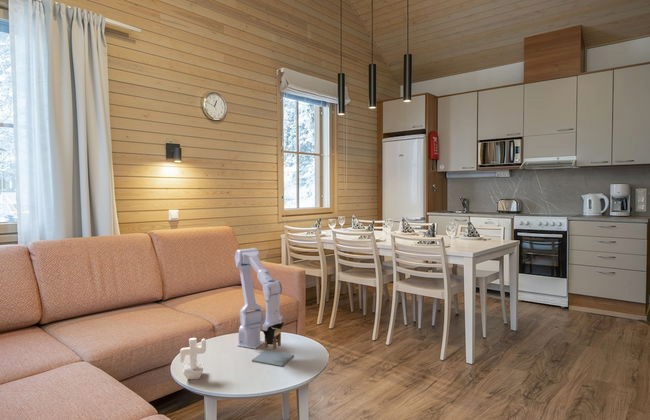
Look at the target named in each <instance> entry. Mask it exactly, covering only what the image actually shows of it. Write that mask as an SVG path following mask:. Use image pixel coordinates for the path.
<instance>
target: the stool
mask: <svg viewBox="0 0 650 420" xmlns="http://www.w3.org/2000/svg"><path fill="white" fill-rule="evenodd" d="M273 329H276V330H275V332H274V336H273V343H272V345H271V346H272V347H273V348H272V350H277V347H280V346H281V345H282V339H281V338H282V337H281V336H282V328H281V329H277V328H273ZM276 335H278V340H276ZM269 345H270V344H267V341H266V337H265V336H264V348H265V349H268V348H269Z"/></svg>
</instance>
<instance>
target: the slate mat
mask: <svg viewBox="0 0 650 420" xmlns="http://www.w3.org/2000/svg"><path fill="white" fill-rule="evenodd" d="M294 356H295V354H291V353H286V352H278V351H275V350H274V351H273V350H268V349H264V350H263V351H262V352H260V353H259V354H258V355H256V356H255V357H254V358H253V359H252V360H251V363H259V364H263V365H270V366H276V367H279V368H280V367H284V366H285V365H286V364H287V363H288V362H289V361H291V360H292V358H294Z"/></svg>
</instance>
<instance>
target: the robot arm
mask: <svg viewBox="0 0 650 420" xmlns="http://www.w3.org/2000/svg"><path fill="white" fill-rule="evenodd" d="M234 262H235V266H236V269H238V270H239V275H240V282H241V289H242V294H243V301H244V306H242V307H241V309H240V311H239V322H240V326H239V329H238V344H237V346H238V347H243V348H248V349H249V348H250V349H253V350H254V349H257V348H258V347H260V346H261V345H263V344H265V340H264V341H263V340H261V331H262V332H263V334H264V338H265V337H266V341H267V344H268V345H269V344H270V345H271V346H273V345H272V343H273V336H274V332H275V330H276V329H273V328H277V329H281V330H282V328H283V326H284V324H285V323H284V322H283V320H284V319H283V318H284V317H283V316H284V315H282V314H280V295H281V294H282V292H283V285H282V283H281V281H280V280H279V279H278V280H277V278H274V276H273V275H272V273H271V272H270V271H269V269H267V268H265V267H264V265H263V262H261V259H260V251H259V250H258V248H257V247H251V248H242V249H237V250H236V251H235V254H234ZM252 269H253V270H254V271H255V272H256V278H257V280H258V281H259V282H260V284H261V287H262V292H263V295H264V296H263V297H264V300H265V313H264V312H263V311H264V310H263V308H262V306H261V305H260V304H258V303H257V301H256V295H255V289H254V284H253V282H254V281H253V278H252V271H251V270H252ZM263 322H264V323H263ZM276 340H278V335H276Z"/></svg>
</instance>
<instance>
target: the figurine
mask: <svg viewBox="0 0 650 420" xmlns="http://www.w3.org/2000/svg"><path fill="white" fill-rule="evenodd" d="M197 343H198V340H197V338H196V337H190V338H189V339H188V344H189V347H182V348H180V350H179V361H180V363H184V365H183V370H182V374H183V375H184V377H185V378H186V380H187V379H191V380H198V379H200V378H201V376H202V375H203V371H204V362H198V360H197V355H200V354H205V353H206V350H207V341H206V338H202V339H201V340H200V343H201V345H198V346H197ZM185 356H189V363H185V361H186V359H185V358H186V357H185Z"/></svg>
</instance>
